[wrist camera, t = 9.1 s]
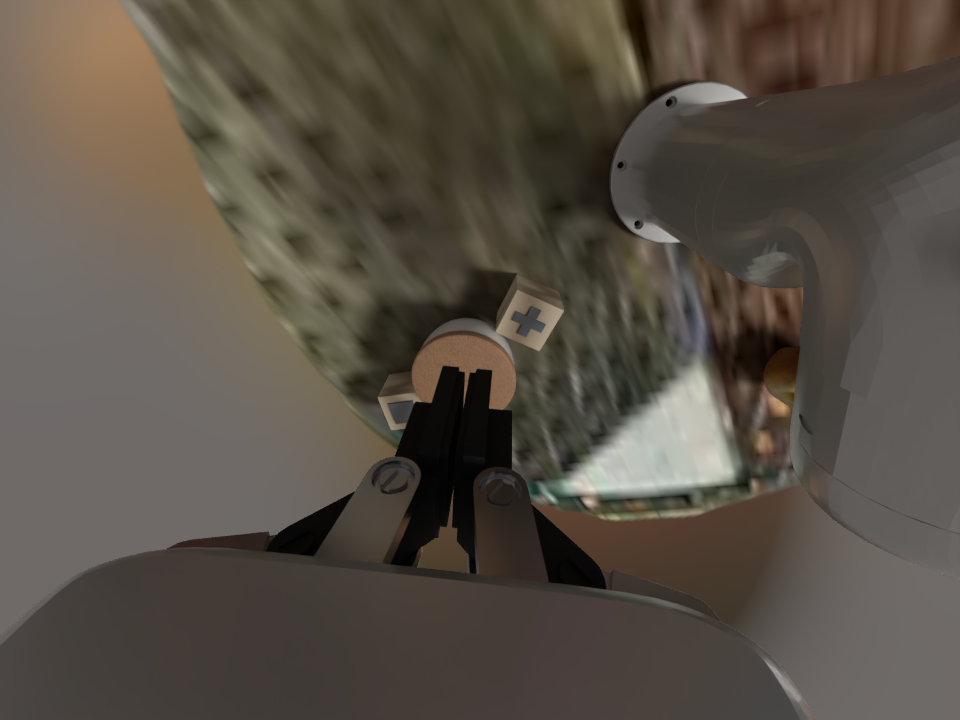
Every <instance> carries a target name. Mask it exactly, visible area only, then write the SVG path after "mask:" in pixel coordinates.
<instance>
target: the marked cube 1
mask: <svg viewBox="0 0 960 720" xmlns="http://www.w3.org/2000/svg"><path fill="white" fill-rule="evenodd" d="M377 398H378V400H379V402H380V405H381V407H382V409H383V412H384V414H385V417H386V419H387V421H388V424H389V426H390V428H391V430H397V429H405V427H406V424H407V422H408V419H409V416H410V413H411V411H412V408H413V405H414V403H415V402H416V401H417V402H422V401H421V400H420V399H419V397H418V396H417V394H416V392H415V390H414V388H413V384H412V378H411V371H409V372H402V373H395V374H389V376H388V378H387V380H386V382H385V384H384V386H383V388H382V390H381V392H380V393H379V395H378V397H377Z"/></svg>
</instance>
